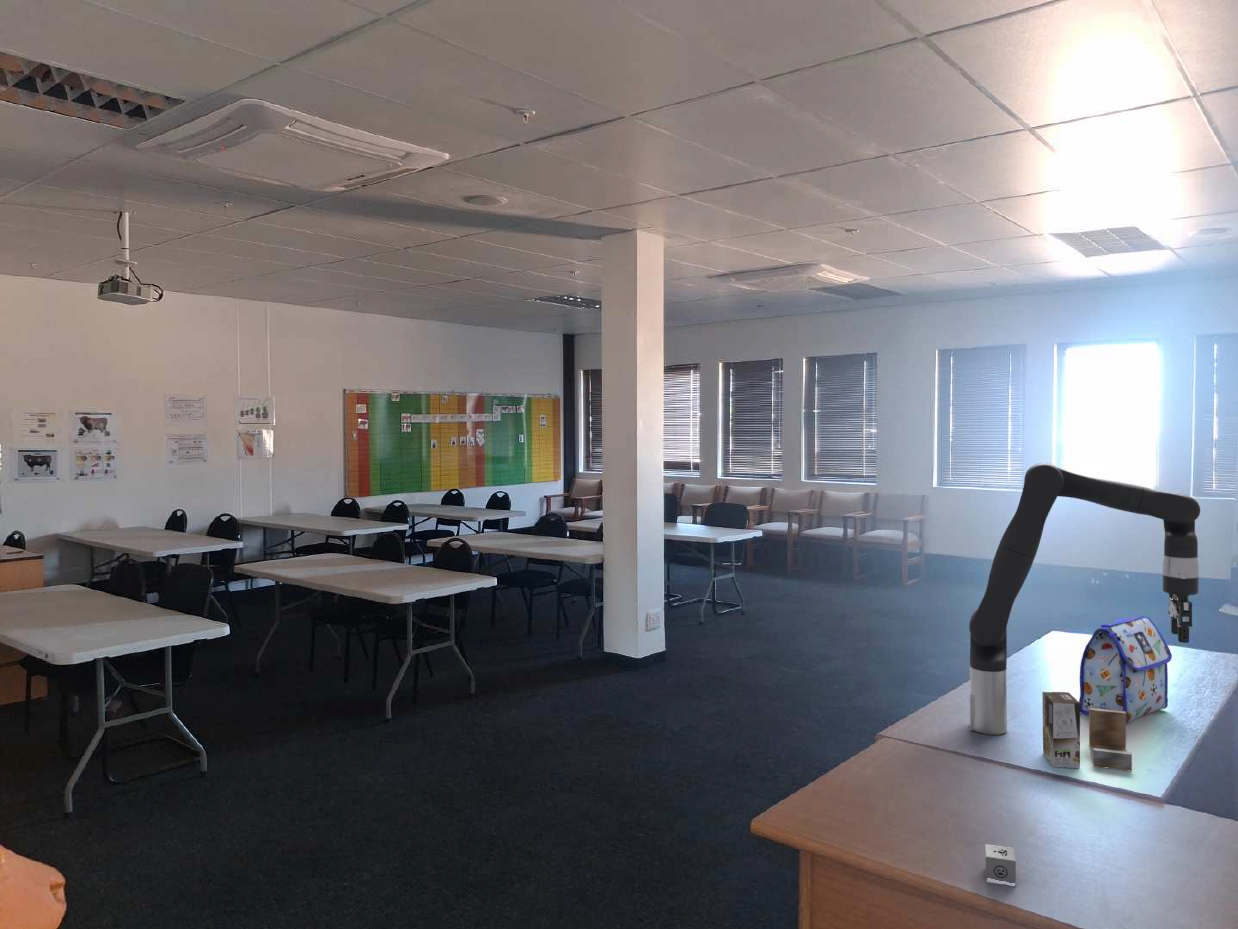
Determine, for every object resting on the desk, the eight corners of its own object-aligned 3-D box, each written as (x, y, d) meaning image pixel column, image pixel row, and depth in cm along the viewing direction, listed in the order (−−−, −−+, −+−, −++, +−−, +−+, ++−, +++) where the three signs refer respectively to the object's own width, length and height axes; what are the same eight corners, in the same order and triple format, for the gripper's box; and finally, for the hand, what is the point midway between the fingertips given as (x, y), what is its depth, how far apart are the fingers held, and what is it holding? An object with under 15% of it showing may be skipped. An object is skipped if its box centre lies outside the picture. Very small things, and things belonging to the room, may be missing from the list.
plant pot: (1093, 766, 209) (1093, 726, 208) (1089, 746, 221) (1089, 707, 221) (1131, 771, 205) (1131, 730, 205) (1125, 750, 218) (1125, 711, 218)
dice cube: (1015, 887, 157) (1015, 861, 157) (986, 883, 159) (985, 856, 158) (1014, 874, 162) (1014, 848, 161) (985, 869, 163) (985, 844, 163)
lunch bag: (1134, 730, 232) (1134, 632, 230) (1074, 713, 246) (1074, 620, 245) (1177, 713, 244) (1177, 619, 242) (1118, 698, 258) (1118, 609, 256)
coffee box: (1081, 769, 208) (1081, 703, 207) (1052, 767, 209) (1052, 702, 208) (1069, 754, 216) (1069, 691, 216) (1042, 753, 218) (1041, 690, 217)
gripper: (1157, 568, 222) (1157, 630, 223) (1168, 578, 209) (1167, 644, 210) (1191, 569, 219) (1191, 632, 220) (1205, 580, 206) (1204, 646, 207)
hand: (1179, 638), depth 215 cm, fingers open, 8 cm apart
